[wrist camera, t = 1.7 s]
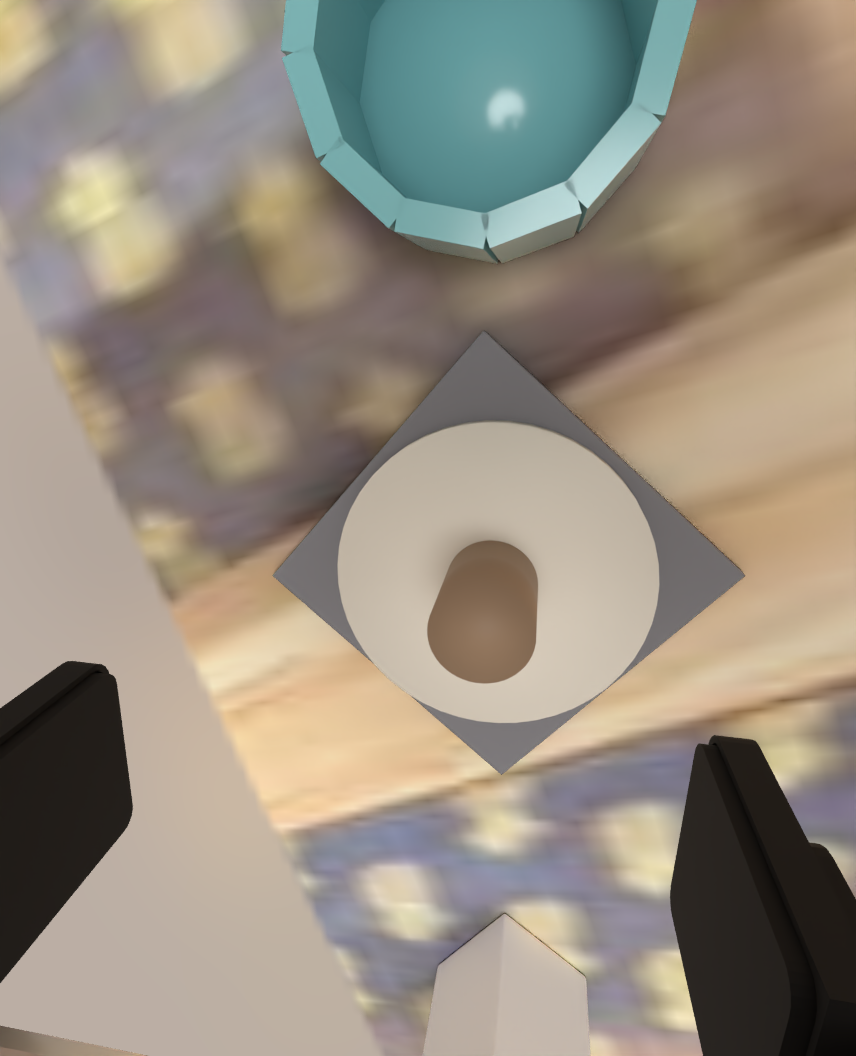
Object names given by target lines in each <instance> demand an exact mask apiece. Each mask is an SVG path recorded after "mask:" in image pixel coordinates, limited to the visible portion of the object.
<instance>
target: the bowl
mask: <svg viewBox="0 0 856 1056" xmlns="http://www.w3.org/2000/svg"><path fill="white" fill-rule="evenodd" d="M696 1H697V0H286V7H285V17H284V27H283V37H282V46H281V51H282V52H283V53H284V54H285V55H286V56H285V57H283V58H282V59H283V62H284V65H285V68H286V71H287V74H288V77H289V80H290V83H291V86H292V89H293V92H294V95H295V98H296V100H297V103H298V106H299V109H300V112H301V115H302V118H303V121H304V124H305V127H306V130H307V133H308V136H309V139H310V141H311V144H312V147H313V150H314V153H315V156H316V158H317V159H318V160H320V161H321V163H320V165H322V166H323V167H324V168H325V169H326V170H327V171H328V172H329V173H330V174H331V175H332V176H333V177H334V178H335V179H336V180H338V181H339V182H340V183H341V184H342V185H343V186H344V187H345V188H346V189H347V190H348V191H349V192H350V193H351V194H352V195H354V196H355V197H356V198H357V199H358V200H359V201H360V202H361V203H362V204H363V205H364V206H365V207H366V208H367V209H368V210H370V211H371V212H372V213H373V214H374V215H375V216H376V217H377V218H378V219H379V220H380V221H381V222H382V223H383V224H384V225H386V226H387V227H388V228H389V229H391V230H392V231H394V232H396V233H397V234H399V235H401V236H403V237H404V238H406V239H408V240H410V241H411V242H413V243H415V244H417V245H418V246H420V247H422V248H424V249H426V250H429V251H434V252H439V253H444V254H449V255H454V256H459V257H464V258H469V259H474V260H479V261H484V262H489V263H495V264H497V263H498V259H499V260H500V261H501V263H505V262H508V261H510V260H513V259H516V258H518V257H521V256H524V255H526V254H529V253H532V252H534V251H537V250H540V249H542V248H545V247H548V246H550V245H553V244H556V243H558V242H561V241H564V240H566V239H569V238H572V237H574V236H575V232H576V231H577V232H578V233H580V231H581V230H582V229H583V228H584V227H585V226H586V224H587V223H588V222H589V221H590V220H591V219H592V218H593V216H594V215H595V214H596V213H597V212H598V211H599V209H600V208H601V207H602V206H603V205H604V204H605V203H606V201H607V200H608V199H609V198H610V197H611V196H612V195H613V193H614V192H615V191H616V190H617V189H618V188H619V186H620V185H621V184H622V183H623V182H624V181H625V180H626V178H627V177H628V176H629V175H630V174H631V173H632V171H633V170H634V169H635V168H636V166H637V164H638V163H639V161H640V159H641V158H642V156H643V154H644V152H645V151H646V149H647V147H648V145H649V144H650V142H651V140H652V138H653V137H654V135H655V133H656V131H657V130H658V128H659V126H660V125H661V122H662V121H663V119H664V117H665V115H666V111H667V108H668V104H669V100H670V97H671V93H672V89H673V86H674V82H675V78H676V75H677V71H678V67H679V64H680V60H681V56H682V53H683V49H684V45H685V42H686V38H687V34H688V30H689V27H690V23H691V19H692V16H693V12H694V8H695V5H696Z"/></svg>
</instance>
